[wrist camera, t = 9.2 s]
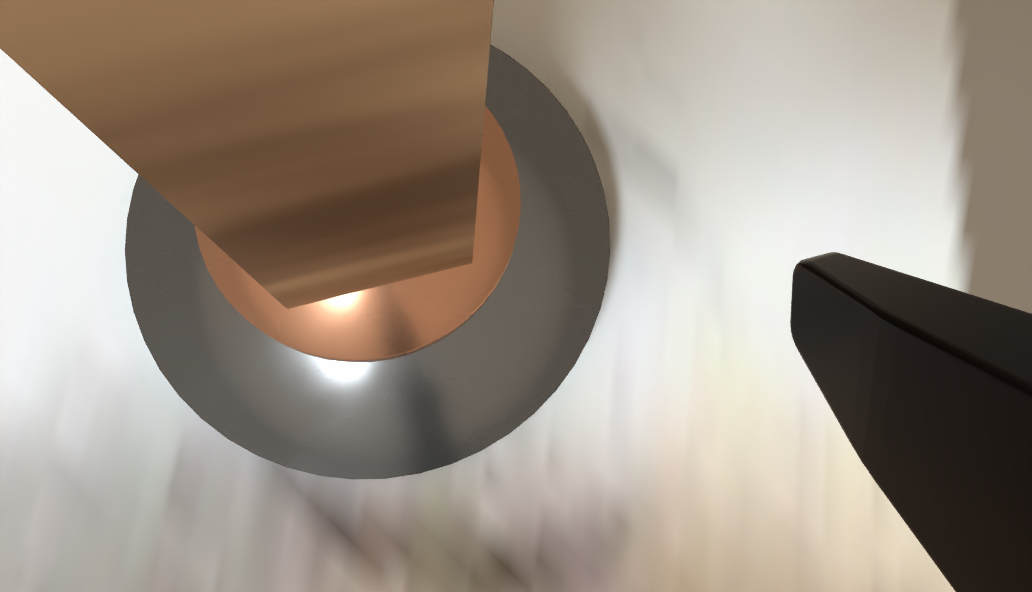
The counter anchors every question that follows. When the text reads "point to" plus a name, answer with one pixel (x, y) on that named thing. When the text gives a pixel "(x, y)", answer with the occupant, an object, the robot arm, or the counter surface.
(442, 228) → the walnut stick
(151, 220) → the copper topped disc
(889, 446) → the robot arm
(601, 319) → the counter surface
